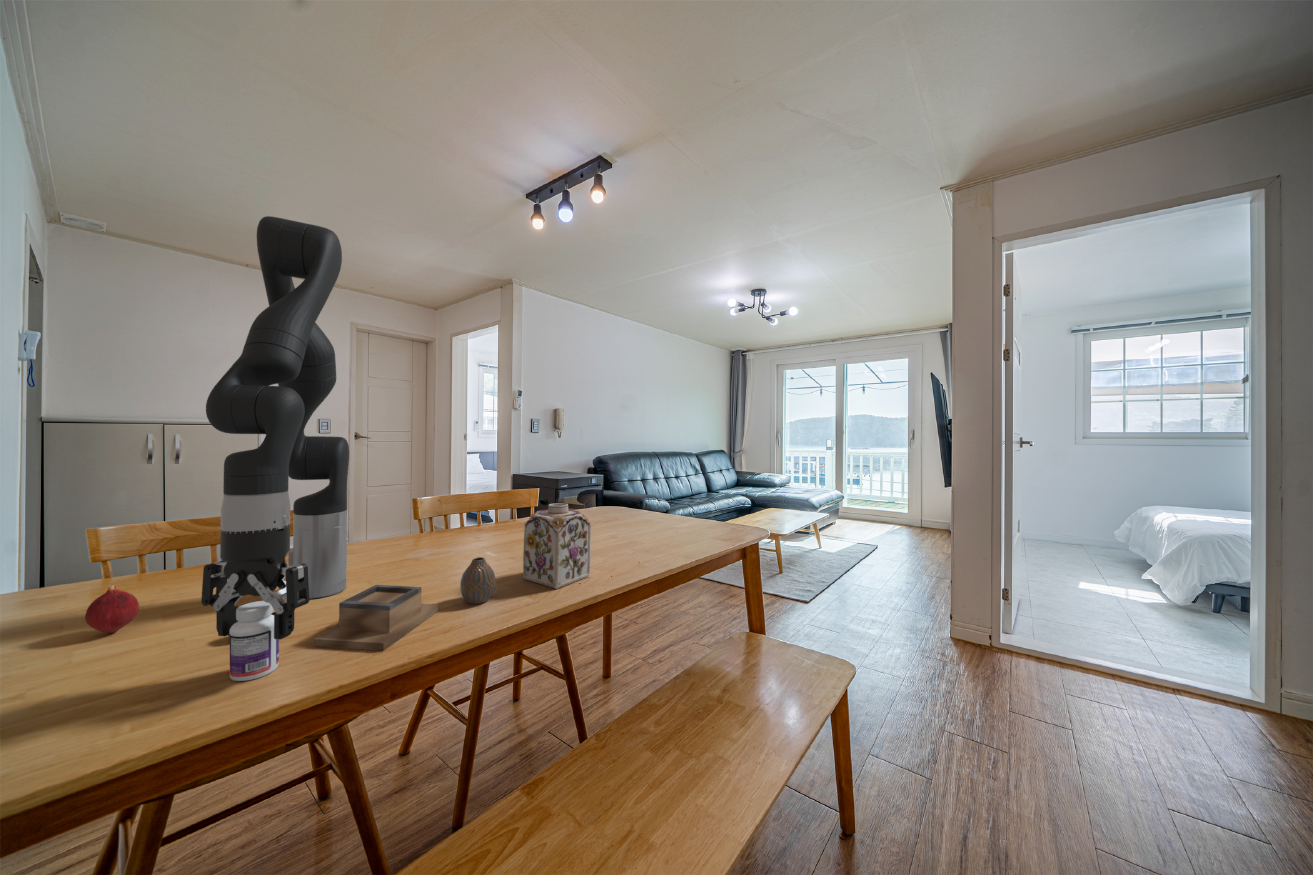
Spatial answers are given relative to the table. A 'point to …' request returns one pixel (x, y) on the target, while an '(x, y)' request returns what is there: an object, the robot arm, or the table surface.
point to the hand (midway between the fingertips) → (255, 635)
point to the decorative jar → (556, 546)
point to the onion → (112, 610)
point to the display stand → (377, 618)
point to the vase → (478, 582)
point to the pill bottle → (253, 642)
